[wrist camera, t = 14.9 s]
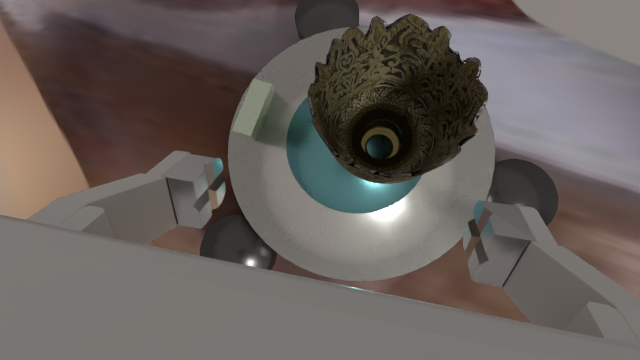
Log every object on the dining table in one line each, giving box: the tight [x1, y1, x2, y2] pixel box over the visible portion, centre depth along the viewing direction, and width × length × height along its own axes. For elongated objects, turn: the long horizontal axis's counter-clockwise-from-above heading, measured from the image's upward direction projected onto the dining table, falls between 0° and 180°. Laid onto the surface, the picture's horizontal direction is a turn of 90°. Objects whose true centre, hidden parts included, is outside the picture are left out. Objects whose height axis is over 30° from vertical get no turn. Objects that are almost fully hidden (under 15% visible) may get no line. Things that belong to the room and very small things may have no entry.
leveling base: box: [200, 0, 558, 281], centre depth 24 cm, size 24×22×6 cm
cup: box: [307, 14, 488, 184], centre depth 17 cm, size 8×7×8 cm
